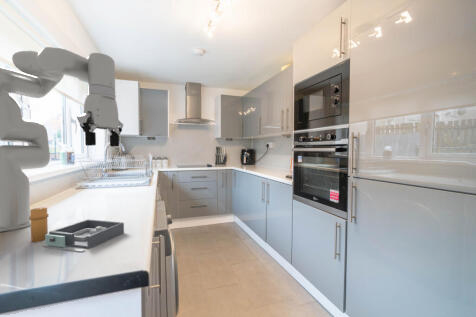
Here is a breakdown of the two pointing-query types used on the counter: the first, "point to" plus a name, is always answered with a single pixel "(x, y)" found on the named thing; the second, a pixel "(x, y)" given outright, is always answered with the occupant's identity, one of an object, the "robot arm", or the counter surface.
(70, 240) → the tray
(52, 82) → the robot arm
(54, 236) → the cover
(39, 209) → the peg
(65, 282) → the counter surface
